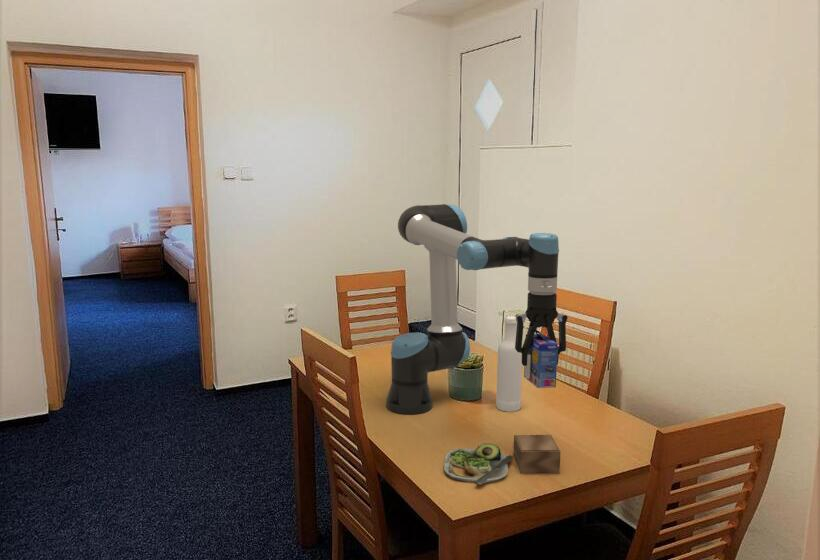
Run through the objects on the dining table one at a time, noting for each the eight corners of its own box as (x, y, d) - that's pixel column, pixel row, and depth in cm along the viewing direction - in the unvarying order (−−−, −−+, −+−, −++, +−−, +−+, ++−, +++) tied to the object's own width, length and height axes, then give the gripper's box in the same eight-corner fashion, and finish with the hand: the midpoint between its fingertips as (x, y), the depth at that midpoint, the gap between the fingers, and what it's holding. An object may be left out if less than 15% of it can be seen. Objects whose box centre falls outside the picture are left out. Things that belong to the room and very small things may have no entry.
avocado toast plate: (512, 493, 155) (512, 475, 154) (438, 487, 158) (438, 469, 157) (513, 457, 174) (513, 441, 173) (447, 452, 177) (447, 436, 176)
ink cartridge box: (522, 376, 177) (525, 325, 175) (540, 376, 179) (544, 325, 176) (537, 388, 168) (540, 334, 166) (556, 387, 169) (560, 334, 167)
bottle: (525, 410, 206) (528, 319, 200) (502, 413, 203) (505, 321, 198) (513, 401, 213) (516, 313, 208) (492, 404, 211) (494, 315, 206)
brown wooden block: (520, 473, 164) (521, 450, 163) (513, 456, 174) (514, 434, 173) (559, 473, 164) (560, 450, 163) (550, 455, 174) (551, 434, 173)
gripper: (509, 295, 165) (507, 381, 169) (582, 294, 166) (578, 380, 170) (503, 290, 172) (501, 372, 176) (573, 289, 173) (569, 371, 177)
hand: (539, 376), depth 173 cm, fingers closed on ink cartridge box, 6 cm apart
